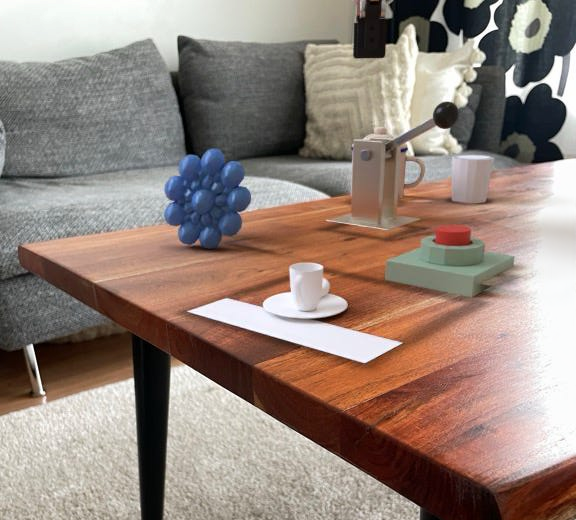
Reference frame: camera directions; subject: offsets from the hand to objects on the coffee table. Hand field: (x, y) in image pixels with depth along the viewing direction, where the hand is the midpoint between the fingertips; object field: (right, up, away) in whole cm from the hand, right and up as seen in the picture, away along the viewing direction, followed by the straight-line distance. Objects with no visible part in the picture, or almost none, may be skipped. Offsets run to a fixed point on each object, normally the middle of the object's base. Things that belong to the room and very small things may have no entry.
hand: (368, 58), depth 86 cm
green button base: (+8, -28, -8) cm, 30 cm away
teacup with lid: (+6, -9, +33) cm, 34 cm away
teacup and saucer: (-5, -32, -17) cm, 36 cm away
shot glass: (+21, -8, +34) cm, 41 cm away
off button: (+8, -24, -10) cm, 27 cm away
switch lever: (+7, -8, +7) cm, 13 cm away
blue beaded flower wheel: (-19, -22, +5) cm, 29 cm away
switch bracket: (+2, -17, +15) cm, 23 cm away
